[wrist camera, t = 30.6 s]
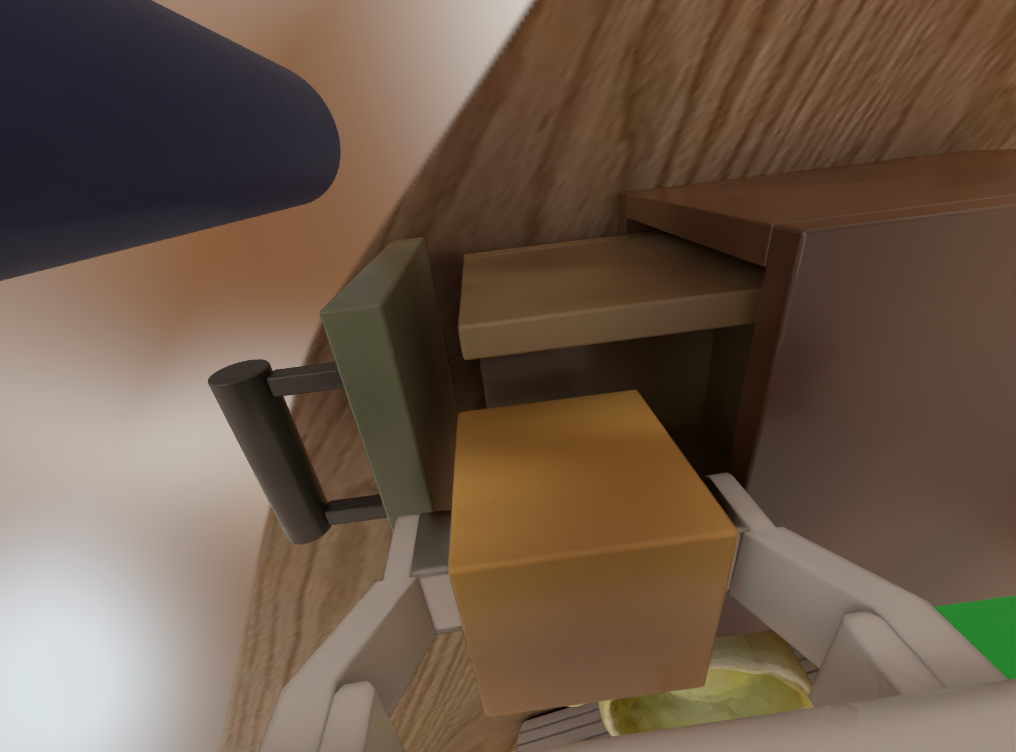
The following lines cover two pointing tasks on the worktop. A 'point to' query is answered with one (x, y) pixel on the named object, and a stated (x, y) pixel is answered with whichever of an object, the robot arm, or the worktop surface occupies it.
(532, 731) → the toaster
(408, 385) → the drawer
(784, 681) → the mug
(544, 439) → the block
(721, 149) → the worktop surface
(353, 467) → the worktop surface
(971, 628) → the bracket
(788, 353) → the cabinet
